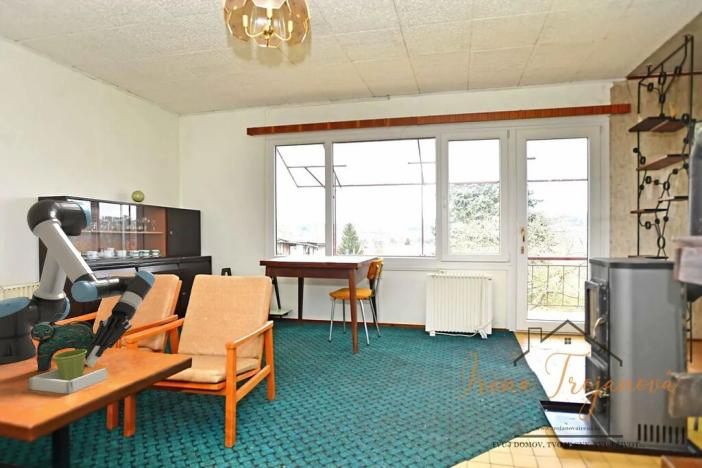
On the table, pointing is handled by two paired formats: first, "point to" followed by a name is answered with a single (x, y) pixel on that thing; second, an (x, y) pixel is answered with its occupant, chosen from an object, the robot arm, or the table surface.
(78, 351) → the plant pot
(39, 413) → the table surface
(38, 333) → the ceramic cat
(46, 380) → the white u-shaped frame
